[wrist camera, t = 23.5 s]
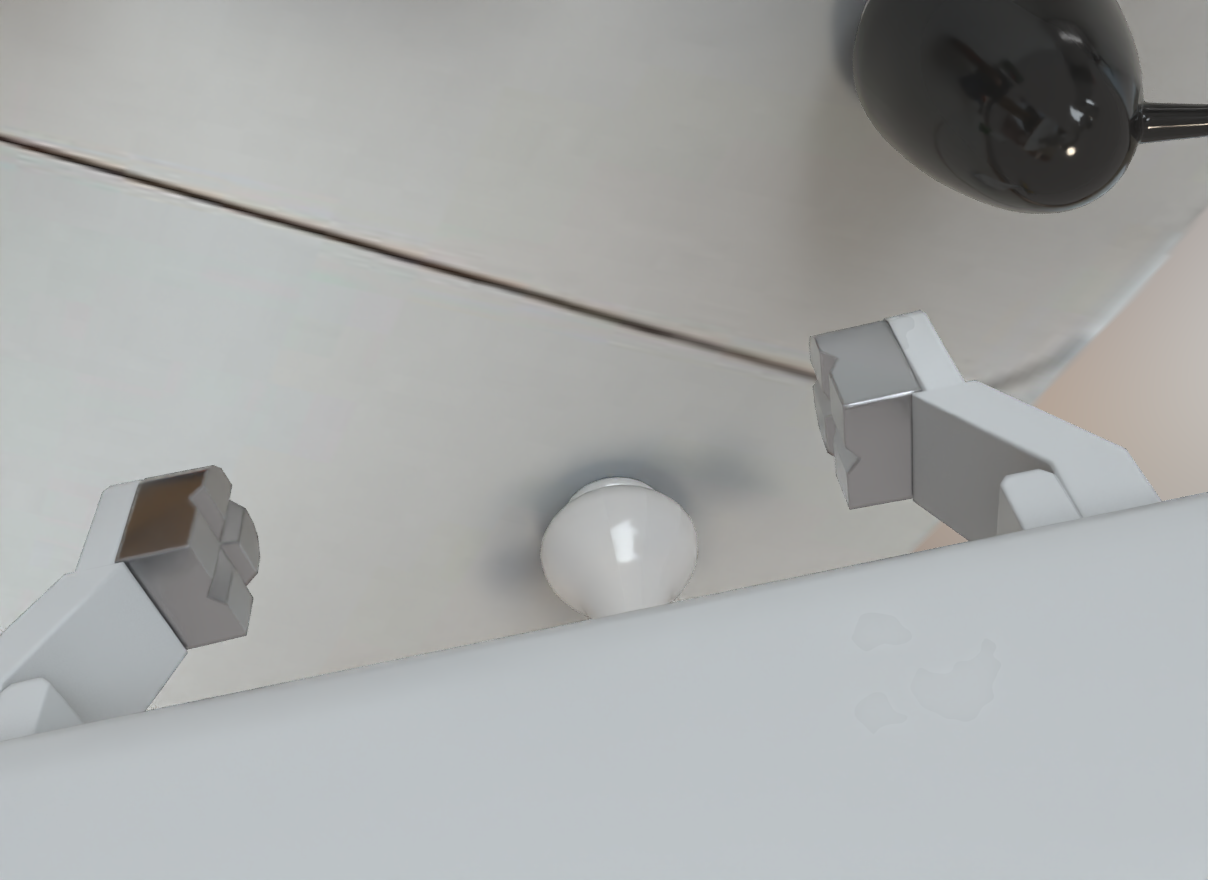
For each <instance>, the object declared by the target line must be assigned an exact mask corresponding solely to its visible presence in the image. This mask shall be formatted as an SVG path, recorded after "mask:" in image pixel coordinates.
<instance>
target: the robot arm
mask: <svg viewBox="0 0 1208 880" xmlns="http://www.w3.org/2000/svg"><path fill="white" fill-rule="evenodd" d="M809 349H810V361H811V364H812V366H813V369H814V371H815V374H816V376H817V381H816V382H815V384H814V385H813V394H814V403H815V410H816V415H817V420H818V426H819V429H820V432H821V436H822V439H823V442H824V445H825V447H826V450H827V453H829V454H831V455H832V456H834V457H835V468H836V476H837V479H838V481H839V484H840V486H841V489H842V492H843V494H844V497H845V499H846V502H847V504H848V507H849V509H850V510H851V509H856V508H862V507H867V506H873V505H878V504H884V503H889V502H895V501H900V500H906V499H911V498H913V501H914V502H915V503H917V504H918V505H920V506H921V507H922V508H924V509H925V510H927V511H928V512H929V513H931V514H932V515H933V516H935V517H936V518H938V519H939V520H940V521H942V522H943V523H945V524H946V525H947V526H949V527H950V528H952V529H953V530H955V531H956V532H957V533H959V534H960V535H961V536H963V537H964V538H966V539H967V540H968V542H963V543H958V544H953V545H948V546H944V547H939V548H934V549H929V550H925V551H920V552H914V553H910V554H905V555H900V556H895V557H890V558H885V559H880V560H876V561H871V562H866V563H861V564H856V565H852V566H847V567H842V568H837V569H832V570H827V571H823V572H818V573H813V574H808V575H803V576H798V577H794V578H789V579H784V580H779V581H774V582H769V583H764V584H760V585H755V586H750V587H745V588H740V589H735V590H730V591H726V592H721V593H716V594H711V595H706V596H701V597H697V598H692V599H687V600H682V601H677V602H672V603H667V604H663V605H658V606H653V607H648V608H643V609H638V610H633V611H629V612H624V613H619V614H614V615H609V616H604V617H600V618H595V619H590V620H585V621H580V622H575V623H571V624H566V625H561V626H556V627H551V628H547V629H542V630H537V631H532V632H527V633H522V634H518V635H513V636H508V637H503V638H498V639H493V640H488V641H484V642H479V643H474V644H469V645H464V646H459V647H454V648H450V649H445V650H440V651H435V652H430V653H425V654H420V655H416V656H411V657H406V658H401V659H396V660H391V661H386V662H382V663H377V664H372V665H367V666H362V667H357V668H352V669H348V670H343V671H338V672H333V673H328V674H323V675H319V676H314V677H309V678H304V679H299V680H294V681H289V682H285V683H280V684H275V685H270V686H265V687H260V688H255V689H251V690H246V691H241V692H236V693H231V694H226V695H221V696H217V697H212V698H207V699H202V700H197V701H192V702H187V703H183V704H178V705H173V706H168V707H163V708H158V709H153V710H149V711H146V710H147V708H148V707H149V706H150V704H151V703H152V701H153V700H154V699H155V697H156V696H157V694H158V693H159V692H160V690H161V689H162V688H163V686H164V685H165V683H166V682H167V681H168V679H169V678H170V677H171V675H172V674H173V672H174V671H175V670H176V668H177V667H178V666H179V664H180V663H181V661H182V660H183V659H184V657H185V656H186V655H187V653H188V652H187V650H188V649H192V648H196V647H200V646H204V645H209V644H213V643H217V642H221V641H226V640H230V639H234V638H238V637H242V636H247V631H248V625H249V620H250V614H251V609H252V603H253V597H252V595H251V593H250V592H249V590H248V588H247V587H246V586H247V585H248V584H249V582H250V581H251V580H252V579H253V578H254V577H255V576H256V574H257V573H258V568H259V561H260V551H259V541H258V535H257V532H256V529H255V526H254V523H253V521H252V519H251V517H250V515H249V514H248V512H247V510H246V508H244V507H242V506H240V505H238V504H237V503H235V502H233V501H231V500H229V499H230V494H231V489H232V484H231V483H230V481H229V479H228V478H227V476H226V475H225V473H224V472H223V470H222V468H220V467H217V466H214V465H211V466H206V467H201V468H196V469H191V470H186V471H180V472H175V473H170V474H165V475H160V476H154V477H149V478H145V479H144V480H136V481H131V482H126V483H121V484H116V485H111V486H109V487H108V488H107V489H106V490H104V491H103V492H102V494H101V497H100V500H99V503H98V506H97V509H96V512H95V515H94V518H93V520H92V523H91V526H90V529H89V532H88V535H87V538H86V541H85V544H84V547H83V549H82V552H81V555H80V558H79V561H78V564H77V567H76V570H75V572H73V573H68V574H64V575H63V576H62V577H61V578H60V579H59V580H58V581H57V582H56V583H55V584H54V585H53V586H51V587H50V588H49V589H48V590H47V591H46V592H45V593H44V594H43V595H42V596H41V597H40V598H39V599H38V600H37V601H35V602H34V603H33V604H32V605H31V606H30V607H29V608H28V609H27V610H26V611H25V612H24V613H23V614H22V615H21V616H20V617H18V618H17V619H16V620H15V621H14V622H13V623H12V624H11V625H10V626H9V627H8V628H7V629H6V630H5V631H4V632H3V633H1V634H0V880H1208V492H1206V493H1201V494H1195V495H1191V496H1186V497H1181V498H1176V499H1171V500H1167V501H1161V499H1160V498H1159V496H1158V495H1157V493H1156V492H1155V491H1154V489H1153V487H1152V486H1151V485H1150V483H1149V482H1148V480H1147V479H1146V477H1145V476H1144V474H1143V473H1142V471H1141V470H1140V468H1139V467H1138V466H1137V464H1136V463H1135V461H1134V460H1133V458H1132V457H1131V455H1130V454H1129V453H1128V451H1127V450H1126V449H1125V448H1123V447H1121V446H1119V445H1117V444H1114V443H1112V442H1110V441H1108V440H1106V439H1103V438H1101V437H1099V436H1097V435H1095V434H1093V433H1090V432H1088V431H1086V430H1084V429H1082V428H1080V427H1077V426H1075V425H1073V424H1071V423H1069V422H1066V421H1064V420H1062V419H1060V418H1057V417H1055V416H1053V415H1051V414H1049V413H1047V412H1044V411H1042V410H1040V409H1038V408H1036V407H1034V406H1031V405H1029V404H1027V403H1025V402H1023V401H1021V400H1018V399H1016V398H1014V397H1012V396H1010V395H1007V394H1005V393H1003V392H1001V391H999V390H996V389H994V388H992V387H990V386H988V385H986V384H983V383H981V382H979V381H977V380H974V381H969V382H965V381H964V379H963V377H962V375H961V374H960V372H959V370H958V368H957V367H956V365H955V363H954V361H953V360H952V358H951V356H950V354H949V353H948V351H947V349H946V348H945V346H944V344H943V342H942V341H941V339H940V337H939V335H938V334H937V332H936V330H935V328H934V327H933V325H932V323H931V321H930V320H929V318H928V316H927V314H926V313H925V312H923V311H921V310H918V311H914V312H910V313H906V314H901V315H897V316H893V317H889V318H885V319H884V320H882V321H877V322H872V323H868V324H863V325H859V326H854V327H850V328H845V329H841V330H836V331H832V332H827V333H823V334H818V335H814V336H810V342H809Z"/></svg>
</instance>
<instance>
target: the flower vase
mask: <svg viewBox="0 0 1208 880" xmlns="http://www.w3.org/2000/svg"><path fill="white" fill-rule="evenodd" d="M540 557H541V563H542V569H543V573H544V575H545V577H546V579H547V581H548V583H549V584H550V586H551V588H552V589H553V591H554V593H555V594H556V595H557V596H558V597H559V598H560V599H561V600H562V601H563V602H564V603H566V604H567V605H568V606H569V607H570V608H572V609H573V610H575V611H576V612H579V613H581V614H583V615H585V616H587V617H589V618H590V619H595V618H600V617H604V616H609V615H614V614H619V613H624V612H629V611H633V610H638V609H643V608H648V607H653V606H658V605H663V604H667V603H671V602H673V601H674V600H675V599H676V598H677V597H678V596H679V595H680V593H681V592H682V591H683V589H684V588H685V587H686V585H687V584H688V582H689V581H690V579H691V577H692V574H693V571H694V568H695V565H696V562H697V558H698V536H697V532H696V529H695V527H694V525H693V522H692V520H691V518H690V516H689V515H688V514H687V513H686V511H685V510H684V509H683V508H682V507H681V506H680V505H679V504H678V503H677V502H676V501H674V500H672V499H671V498H669V497H667V496H666V495H664V494H662V493H660V492H658V491H656V490H654V489H653V488H652V487H650V486H649V485H647V484H645V483H644V482H642V481H639V480H635V479H632V478H624V477H613V478H605V479H601V480H598V481H595V482H592V483H590V484H588V485H586V486H585V487H583V488H581V489H580V490H579V491H578V492H576V493H575V494H574V495H573V496H572V497H571V499H570V500H569V502H568V504H567V505H566V506H565V507H564V508H563V509H562V510H560V511H559V512H558V513H557V514H556V515H555V516H554V518H553V520H552V521H551V523H550V524H549V526H548V528H547V529H546V531H545V533H544V536H543V540H542V545H541V550H540Z"/></svg>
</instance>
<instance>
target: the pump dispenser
mask: <svg viewBox="0 0 1208 880" xmlns="http://www.w3.org/2000/svg"><path fill="white" fill-rule="evenodd" d="M853 76H854V83H855V88H856V92H857V95H858V98H859V101H860V103H861V105H862V107H863V109H864V111H865V113H866V115H867V117H868V118H869V120H870V121H871V123H872V124H873V126H874V127H875V128H876V130H877V131H878V132H879V133H880V135H881V136H882V137H883V138H884V139H885V140H886V141H887V142H888V143H889V144H890V145H891V146H892V147H893V148H894V149H895V150H896V151H897V152H899V153H900V154H901V155H902V156H903V157H904V158H905V159H907V160H908V161H909V162H910V163H912V164H913V165H914V166H915V167H917V168H918V169H919V170H921V171H922V172H924V173H925V174H927V175H928V176H930V177H931V178H933V179H934V180H936V181H938V182H940V183H941V184H943V185H945V186H947V187H949V188H951V189H953V190H955V191H957V192H959V193H961V194H963V195H965V196H968V197H970V198H972V199H975V200H977V201H980V202H982V203H985V204H988V205H991V206H994V207H997V208H1001V209H1005V210H1009V211H1014V212H1019V213H1028V214H1051V213H1060V212H1065V211H1070V210H1073V209H1077V208H1080V207H1082V206H1085V205H1087V204H1089V203H1091V202H1093V201H1095V200H1096V199H1098V198H1100V197H1101V196H1103V195H1104V194H1105V193H1107V192H1108V191H1109V190H1110V189H1111V188H1112V187H1113V186H1114V185H1115V184H1116V183H1117V182H1118V181H1119V180H1120V178H1121V177H1122V176H1123V174H1124V173H1125V171H1126V169H1127V168H1128V166H1129V164H1130V162H1131V160H1132V158H1133V156H1134V154H1135V151H1136V148H1137V146H1138V144H1143V143H1152V142H1161V141H1170V140H1180V139H1189V138H1199V137H1208V104H1178V103H1149V102H1145V101H1144V99H1143V81H1142V72H1141V66H1140V61H1139V57H1138V53H1137V49H1136V46H1135V42H1134V39H1133V36H1132V33H1131V31H1130V28H1129V26H1128V23H1127V21H1126V18H1125V16H1124V14H1123V12H1122V10H1121V8H1120V6H1119V4H1118V2H1117V0H867V2H866V4H865V7H864V10H863V13H862V16H861V19H860V24H859V27H858V30H857V34H856V38H855V44H854V51H853Z"/></svg>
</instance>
